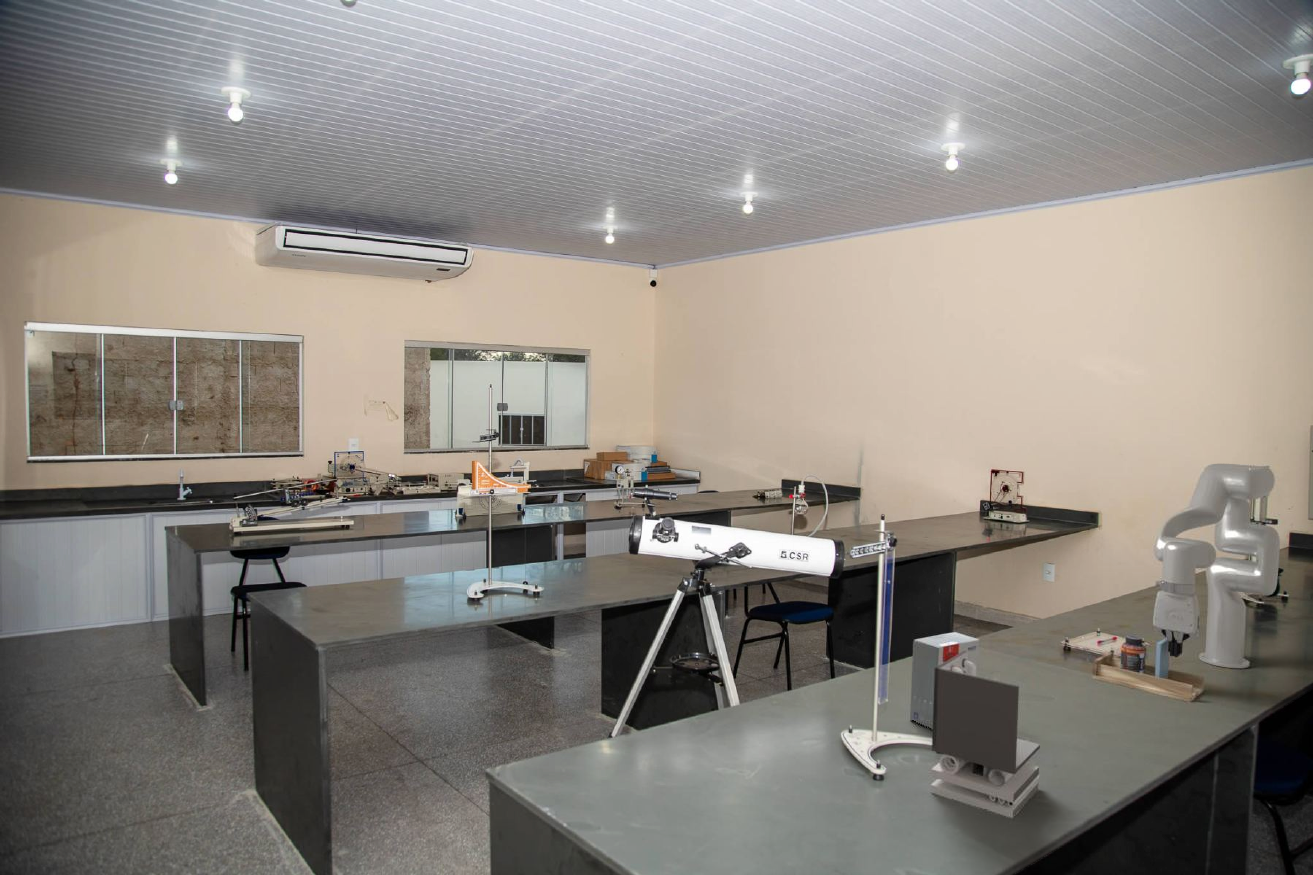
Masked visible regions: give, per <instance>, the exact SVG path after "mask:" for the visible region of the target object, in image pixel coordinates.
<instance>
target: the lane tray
mask: <svg viewBox="0 0 1313 875" xmlns="http://www.w3.org/2000/svg"><path fill="white" fill-rule="evenodd" d="M1120 666H1121V657H1120V658H1119V657H1116V656H1114V652H1112V651H1109V652H1107V653H1105V654H1103V655H1101V656H1100V657H1097V658H1095V659H1094V660H1093V661H1092V672H1091V673H1092V680H1093V679H1094V680H1097V681H1101V682H1106V683H1110V684H1114V685H1118V686H1121V687H1126V688H1131V689H1135V690H1138V691H1143V692H1147V693H1151V694H1155V695H1159V696H1163V697H1168V698H1170V699H1171V698H1172V699H1177V700H1181V701H1185V702H1188V701H1189V702H1188V703H1191V702H1192V701H1193V700H1195V699H1196V698H1197V697H1199V696H1200V695H1201V693H1204V691H1205V686H1204V679H1205V678H1204V676H1202V675H1196V674H1194V673H1189V672H1188V673H1187V672H1183V671H1178V670H1174V669H1170V668H1169V674H1168V679H1164V678H1159V677H1155V667H1156V665H1151V664H1148V663H1147V664H1146V663H1145V674H1142V673H1137V672H1133V671H1129V670H1124V669H1120ZM1190 701H1191V702H1190Z"/></svg>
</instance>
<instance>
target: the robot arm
mask: <svg viewBox="0 0 1313 875" xmlns="http://www.w3.org/2000/svg"><path fill="white" fill-rule="evenodd" d="M1275 479H1276V478H1275V474H1274V472H1273V470H1272V469H1271V468H1270V467H1268V466H1262V465H1261V466H1260V465H1249V464H1248V465H1247V464H1235V463H1211V464H1209V465H1207V466H1206V467H1205V468H1204V470H1203V471H1202V473H1200V476H1199V478H1198V480H1197V483H1196V486H1195V488H1194V491H1193V494H1192V497H1191V499H1190V501H1189V505H1188V506H1187V507H1185V508H1183V509H1181V510H1179V511H1177V512H1176V513H1175V514H1173V515H1172V516H1170V517H1169V518H1168V519H1167V520H1165V521H1164V523H1163V524H1162V526H1161V527H1160V530H1159V531H1158V535H1157V536H1156V540H1155V543H1154V547H1153V551H1154V552H1153V553H1154V556H1155V558H1156V559H1157V561H1159V562H1161V563H1162V575H1161V580H1156V582H1155V586H1156V587H1159V588H1160V590H1158V591H1157V594H1156V597H1155V602H1154V610H1153V615H1152V616H1153V618H1152V625H1153V627H1152V629H1153V630H1154V631H1156V632H1158V633H1161V634H1162V635H1163V636H1164V637H1165V638H1167V640H1168V652H1170V653H1169V657H1174V658H1179V656H1180V655H1182V653H1183V646H1184V644H1183V643H1184V642H1185V641H1186V640H1187V639H1198V638H1199V637H1200V632H1199V630H1200V625H1201V624H1200V619H1201V618H1200V604H1199V600H1198V595H1197V594H1195V592H1196V589H1195V588H1196V587H1195V586H1196V569H1205V577H1206V586H1207V612H1206V613H1207V615H1206V629H1205V631H1206V632H1205V633H1206V634H1205V635H1206V636H1205V652H1204V651H1203V652H1201V653H1199V655H1198V658H1199V660H1200V661H1202V662H1204V663H1206V664H1209V665H1212V666H1216V667H1221V668H1226V669H1227V668H1228V669H1246V668H1248V667H1249V668H1250V667H1251V666H1250V661H1249V660H1247V659H1246V658H1244V655H1245V654H1244V653H1245V640H1246V639H1245V635H1246V617H1247V616H1246V615H1247V606H1246V603H1245V601H1244V599H1243V597H1241V595H1240V593H1246V594H1252V595H1257V596H1258V595H1259V596H1270V595H1273V594H1274V592H1275V591H1276V589H1277V585H1278V577H1279V576H1278V574H1279V561H1280V548H1281V547H1280V546H1281V542H1280V540H1281V539H1280V535H1279V533H1278V531H1277V529H1275V528H1274V527H1273V526H1269V525H1266V524H1259V523H1258V524H1257V523H1251V511H1252V509H1251V508H1252V507H1251V503H1250V502H1249V501H1253V500H1258V499H1260V498H1261V499H1262V498H1263V497H1266V496H1267V495H1269V494H1270V493H1271V492H1272V491H1273V489H1274V486H1275V481H1276V480H1275ZM1248 500H1249V501H1248ZM1210 525H1211V526H1212V525H1215V526H1214V537H1213V539H1214V540H1213V541H1214V545H1212V544H1211V543H1210V542H1208V541H1204V540H1198V539H1191V538H1183V537H1177V536H1178V535H1180V534H1182V533H1184V532H1186V531H1189V530H1192V529H1197V528H1203V527H1208V526H1210ZM1216 549H1217V550H1218V551H1219V552H1222V553H1227V554H1233V555H1240V556H1246V557H1254V558H1256V560H1257V561H1255V560H1246V559H1240V558H1233V557H1227V556H1226V557H1225V556H1224V557H1223V556H1218V557H1217V552H1216ZM1175 632H1176V633H1177V638H1176V637H1175V636H1176V635H1175Z"/></svg>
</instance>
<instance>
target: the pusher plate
mask: <svg viewBox="0 0 1313 875" xmlns="http://www.w3.org/2000/svg"><path fill="white" fill-rule="evenodd" d="M1155 649H1156V650H1155V652H1156V653H1155V666H1156V667H1155V677H1159V678H1164V679H1168V674H1169V669H1170V652H1168V640H1167V638H1166V637H1165V638H1163V639H1161V640H1160V641H1158V642H1156V647H1155Z"/></svg>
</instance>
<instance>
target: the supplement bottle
mask: <svg viewBox="0 0 1313 875" xmlns="http://www.w3.org/2000/svg"><path fill="white" fill-rule="evenodd" d="M1120 649H1121V651H1120V659H1121V666H1120V669H1124V670H1129V671H1133V672H1137V673H1142V674H1145V664H1146V654H1147V653H1146V651H1147V650H1146V647H1145V645H1143V637H1141V636H1137V635H1132V634H1131V635H1130V634H1129V635H1126V636H1125V642H1123V643H1122V644H1121V647H1120Z"/></svg>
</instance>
